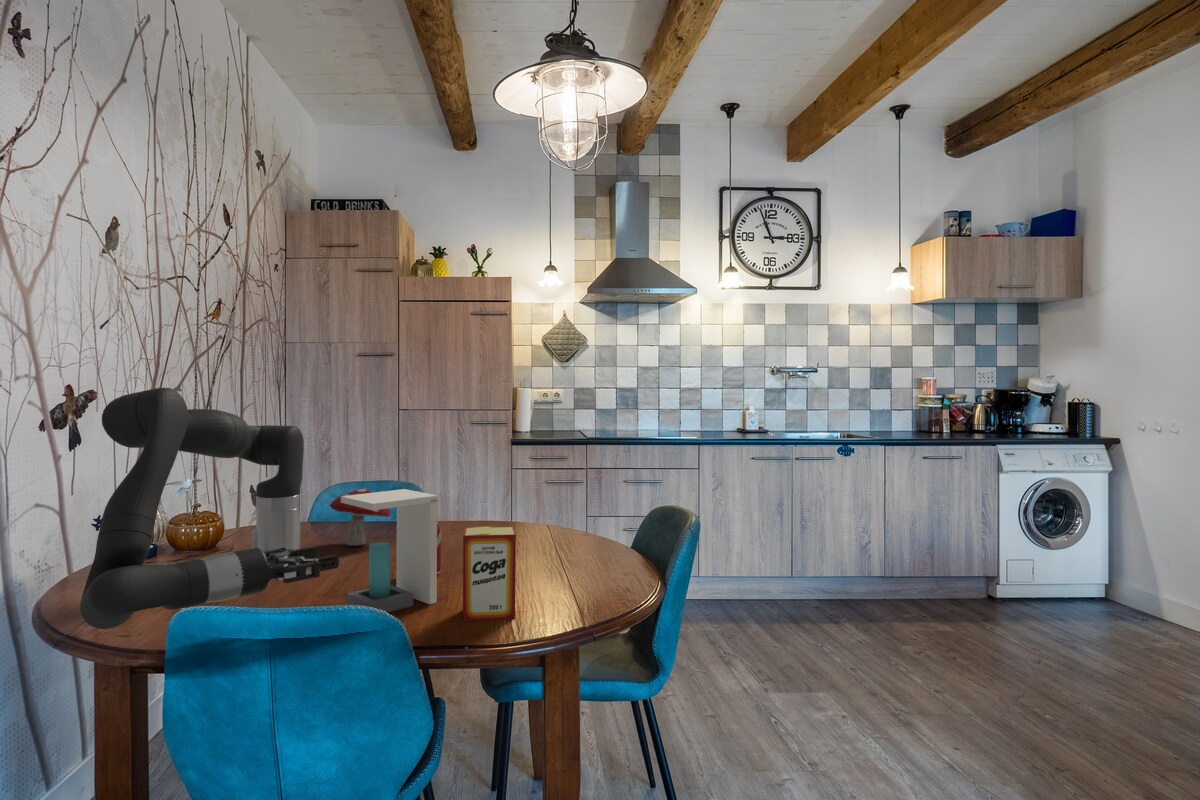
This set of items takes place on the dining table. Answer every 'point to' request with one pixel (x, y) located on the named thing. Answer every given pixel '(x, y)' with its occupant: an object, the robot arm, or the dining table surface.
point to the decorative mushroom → (357, 517)
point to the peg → (379, 570)
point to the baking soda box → (489, 573)
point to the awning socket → (405, 547)
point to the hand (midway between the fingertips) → (326, 556)
